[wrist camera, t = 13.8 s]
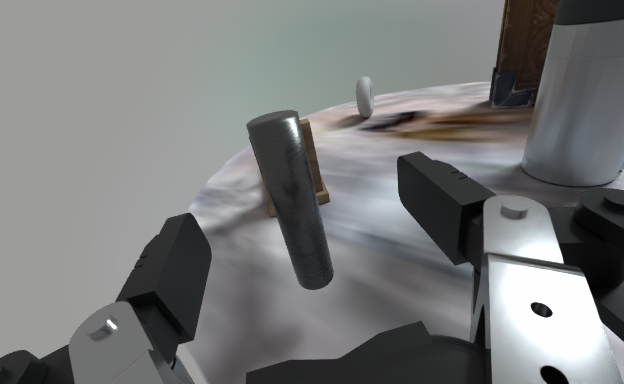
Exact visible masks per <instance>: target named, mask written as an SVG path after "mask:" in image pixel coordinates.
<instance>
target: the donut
mask: <svg viewBox="0 0 624 384" xmlns="http://www.w3.org/2000/svg"><path fill="white" fill-rule="evenodd" d="M356 99H357V106H358V111H359V113H360V115H361V116H362V117H366V118H367V117H369V116H371V114H372V113H373V109H374V95H373V87H372V83H371V80H370V79H369V78H368V77H361V78H360V79H359V80H358V82H357V87H356Z"/></svg>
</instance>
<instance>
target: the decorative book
mask: <svg viewBox="0 0 624 384" xmlns="http://www.w3.org/2000/svg"><path fill="white" fill-rule="evenodd" d="M559 1H560V0H505V5H504V12H503V19H502V26H501V33H500V40H499V47H498V54H497V61H496V67H494V68H493V75H492V82H491V89H490V96H489V102H491V109H502V108H518V107H531V106H532V104H535V103H536V99H537V95H538V90H539V86H540V82H541V77H542V73H543V69H544V65H545V60H546V56H547V51H548V47H549V42H550V38H551V34H552V29H553V25H554V20H555V15H556V11H557V7H558V4H559Z"/></svg>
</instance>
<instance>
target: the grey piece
mask: <svg viewBox="0 0 624 384" xmlns="http://www.w3.org/2000/svg"><path fill="white" fill-rule="evenodd" d="M247 129H248V132H249V135H250V138H251V141H252V144H253V147H254V150H255V153H256V156H257V159H258V162H259V165H260V168H261V171H262V174H263V177H264V180H265V183H266V186H267V189H268V192H269V195H270V198H271V201H272V204H273V207H274V210H275V213H276V216H277V219H278V222H279V225H280V228H281V231H282V234H283V237H284V240H285V243H286V246H287V249H288V252H289V255H290V258H291V261H292V264H293V267H294V270H295V273H296V276H297V279H298V282H299V284H300V285H301V286H302V287H304V288H306V289H309V290H317V289H321V288H323V287H325V286H326V285H328V284H329V283H330V281H331V280H332V278H333V275H334V271H333V267H332V262H331V258H330V253H329V249H328V245H327V240H326V236H325V231H324V227H323V222H322V218H321V214H320V209H319V205H318V200H317V196H316V191H315V187H314V183H313V178H312V174H311V169H310V165H309V160H308V156H307V152H306V147H305V143H304V138H303V134H302V129H301V125H300V121H299V116H298V112H296V111H292V110H286V111H278V112H273V113H269V114H266V115H263V116H260V117H257V118H255V119H253V120H251V121H250V122H249V123H248V124H247Z"/></svg>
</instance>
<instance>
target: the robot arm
mask: <svg viewBox="0 0 624 384" xmlns="http://www.w3.org/2000/svg"><path fill="white" fill-rule="evenodd" d="M522 168H523V170H524V171H525V172H526V173H527V174H529V175H531V176H533V177H535V178H537V179H540V180H543V181H546V182H550V183H554V184H559V185H567V186H595V185H602V184H605V183H609V182H611V181H612V180H614V179H615V178H616V177H617V175H618V172H619V170H623V169H624V0H560V1H559V4H558V7H557V11H556V15H555V20H554V25H553V29H552V34H551V38H550V42H549V47H548V51H547V56H546V60H545V65H544V69H543V73H542V77H541V82H540V86H539V90H538V95H537V99H536V103H535V108H534V112H533V116H532V121H531V125H530V129H529V134H528V138H527V142H526V146H525V151H524V155H523V159H522ZM397 171H398V193H399V197H400V200H401V202H402V204H403V206H404V207H405V208H406V209H407V211H408V212H409V213H410V214H411V215H412V216H413V218H414V219H415V220H416V221H417V222H418V223H419V224H420V226H421V227H422V228H423V229H424V230H425V231H426V233H427V234H428V235H429V236H430V237H431V238H432V239H433V241H434V242H435V243H436V244H437V245H438V246H439V248H440V249H441V250H442V251H443V252H444V253H445V254H446V256H447V257H448V258H449V259H450V260H451V261H452V262H453V264H454V265H459V264H462V263H466V262H470V263H471V264H472V265H473V272H472V301H471V328H470V338H469V342H468V341H465V340H462V339H459V338H455V337H450V336H444V335H429V333H428V332H427V330H426V328H425V326H424V325H423V323H422V321H419V322H416V323H412V324H409V325H406V326H402V327H399V328H396V329H392V330H389V331H386V332H382V333H379V334H378V335H376V336H374V337H373V338H371V339H370V340H368V341H366V342H365V343H363V344H362V345H360V346H359V347H357V348H355V349H354V350H352V351H351V352H349V353H347V354H346V355H344V356H343V357H341V358H338V359H320V360H288V361H285V362H281V363H278V364H275V365H271V366H268V367H264V368H261V369H258V370H254V371H251V372H248V373H246V384H623V381H622V378H621V375H620V373H619V370H618V367H617V364H616V362H615V359H614V356H613V353H612V350H611V348H610V345H609V342H608V339H607V337H606V334H605V331H604V328H603V325H602V323H603V324H604V325H606V326H607V327H608V328H609V329H610V330H611V331H612V332H613V333H615V334H616V335H617V336H618V337H619V338H620V339H621V340H622V341H624V190H619V189H609V188H599V189H592V190H588V191H585V192H583V193H582V194H581V196H580V198H579V201H578V203H577V206H576V207H563V208H545V207H544V206H543V205H542V204H540V203H539V202H537V201H535V200H533V199H530V198H527V197H523V196H518V195H496V194H494V193H493V192H491V191H490V190H488V189H487V188H485V187H484V186H482V185H480V184H479V183H477V182H476V181H474V180H473V179H471V178H470V177H469V178H468V176H467V175H465V174H464V173H462V172H459V170H458V169H456V168H454V167H453V166H451V165H450V164H447V163H444V162H441V161H437V160H434V161H433V160H431V159H430V158H428V157H427V156H426V155H424V154H423V153H421V152H419V151H418V152H414V153H410V154H407V155H403V156H400V157H398V160H397ZM211 258H212V254H211V248H210V245H209V243H208V241H207V239H206V237H205V235H204V234H203V232H202V230H201V228H200V226H199V225H198V223H197V221H196V219H195V218H194V216H193V215H192V214H191V213H185V214H182V215H178V216H174V217H171V218H168V219H167V220H166V222H165V224H164V226H163V228H162V229H161V231H160V234H159V235H156V236H155V237H154V238H153V239H152V240H151V241H150V242H149V243H148V244H147V245H146V247H145V248H144V250H143V252H142V254H141V256H140V259H139V260H138V261H137V263H136V265H135V266H134V268H135V269H133V270H132V272H131V274H130V276H129V277H128V279H127V281H126V283H125V285H124V286H123V288H122V290H121V292H120V294H119V295H118V298H117V299H116V301H115V303H112V304H109V305H107V306H105V307H103V308H101V309H100V310H98V311H96V312H95V313H94V314H92V315H91V316H90V317H89V318H87V319H86V320H85V321H84V322H83V323H82V324H81V325H80V326H79V327H78V329H77V330H76V331H75V333H74V334H73V336H72V338H71V340H70V342H69V344H68V345H66V346H64V347H62V348H60V349H58V350H56V351H55V352H53V353H51V354H49V355H47V356H45V357H43V358H41V359H38V358H37V357H35V356H34V355H33V354H31V353H30V352H28V351H26V350H20V351H15V352H12V353H10V354H7V355H5V356H3V357H1V358H0V384H195V383H194V382H193V380H192V378H191V377H190V375H189V374H188V372H187V370H186V368H185V367H184V365H183V364H182V362H181V360H180V359H179V358H178V356H177V355H176V351H177V347H178V345H179V344H182V343H186V342H189V341H192V340H194V337H195V332H196V327H197V323H198V318H199V314H200V309H201V304H202V300H203V295H204V291H205V286H206V282H207V277H208V272H209V268H210V263H211ZM601 322H602V323H601Z"/></svg>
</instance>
